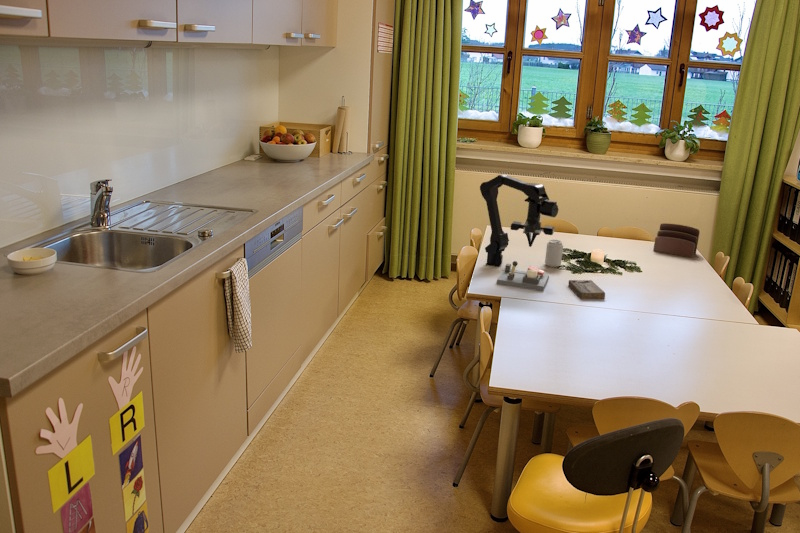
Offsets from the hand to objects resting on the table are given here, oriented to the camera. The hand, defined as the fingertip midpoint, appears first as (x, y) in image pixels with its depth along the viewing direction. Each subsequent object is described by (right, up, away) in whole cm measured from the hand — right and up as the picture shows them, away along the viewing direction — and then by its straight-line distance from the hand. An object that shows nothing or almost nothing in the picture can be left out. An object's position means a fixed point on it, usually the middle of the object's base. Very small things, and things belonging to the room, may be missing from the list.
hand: (530, 246), depth 336 cm
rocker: (+1, -12, -4) cm, 13 cm away
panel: (-4, -15, -7) cm, 17 cm away
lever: (-10, -14, -10) cm, 20 cm away
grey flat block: (+21, -20, -16) cm, 33 cm away
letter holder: (+84, -2, +53) cm, 99 cm away
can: (+14, -9, +19) cm, 25 cm away
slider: (-10, -11, -1) cm, 15 cm away
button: (-2, -15, -12) cm, 19 cm away
